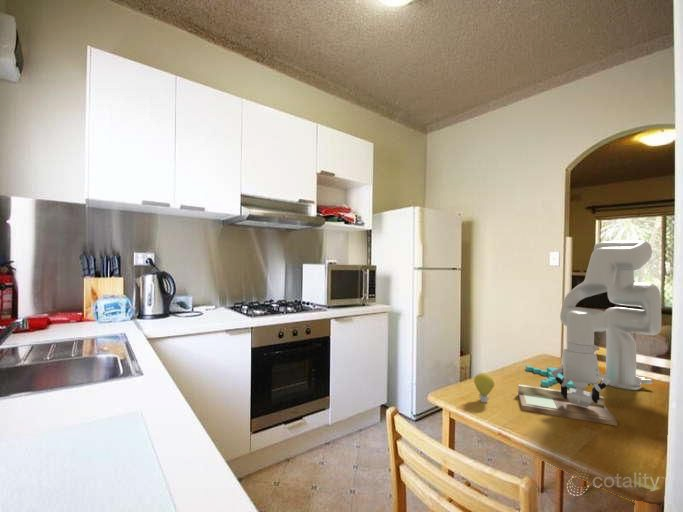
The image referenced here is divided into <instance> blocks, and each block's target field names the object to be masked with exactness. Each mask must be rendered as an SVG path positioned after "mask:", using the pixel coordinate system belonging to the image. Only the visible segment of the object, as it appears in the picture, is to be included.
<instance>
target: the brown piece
mask: <svg viewBox="0 0 683 512" xmlns="http://www.w3.org/2000/svg"><path fill="white" fill-rule="evenodd" d="M568 392H569V390H567V395H568ZM523 393H527V394H533V395H540V396H546V397H552V399H553V401H554V403H555V405H556V407H557V409H554V408H548V407H542V406H536V405H529V404H526V401H525V397H524V394H523ZM517 395H518V399H519V400H518V401H519V404H520V407H521V410H522V411H528V412H533V413H534V412H535V413H539V414H544V415H545V414H546V415H552V416H557V417H563V418H569V419H576V420H581V421H587V422H593V423H598V424H605V425H611V426H616V427H617V426H618V420H617V419H616V418H615V417H614V415H613V414H612V413H611V412H610V410H609V409H608V408H607V407H606V406H605V397H604V396H603V395H599V400H598V403H594V401H593V400H592V402H591V404H590V405H589V406H588V407H584V406H580V405H576V404H572V403H571V402H570V401H569V400H568V398H567V399H564V397H563V395H561V389H560V390H559V389H555V388H549V387H539V386H532V385H528V384H527V385H526V384H519V383H518V385H517Z"/></svg>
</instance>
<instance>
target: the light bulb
mask: <svg viewBox="0 0 683 512" xmlns="http://www.w3.org/2000/svg"><path fill="white" fill-rule="evenodd" d="M473 383H474V385H475V388H476V389H477V391H478V392H479V394H478V398H479V399H480V402H481V403H488V400H489V399H490V398H489V397H490V396H489V394H490V393H491V391H492V390H493V388H494V387H495V380H494V378H493V377H492V376H491V375H490V374H489V373H486V372H480V373H478V374H476V375H475V377H474V379H473Z"/></svg>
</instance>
